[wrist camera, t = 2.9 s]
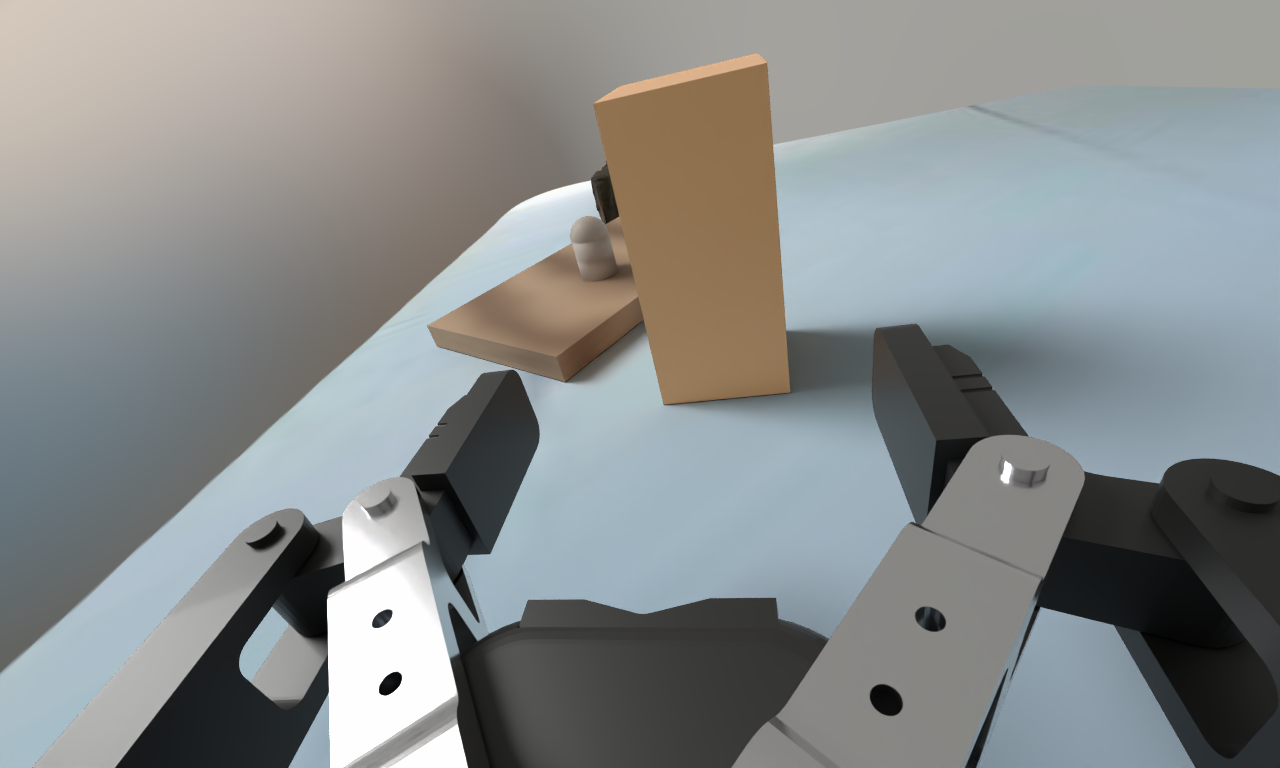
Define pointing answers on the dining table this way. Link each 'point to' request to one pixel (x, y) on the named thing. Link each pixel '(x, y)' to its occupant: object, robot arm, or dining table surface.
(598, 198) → the dark brown rough bar
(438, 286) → the dining table surface
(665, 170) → the light orange rectangular block
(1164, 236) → the dining table surface
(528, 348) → the jig plate
